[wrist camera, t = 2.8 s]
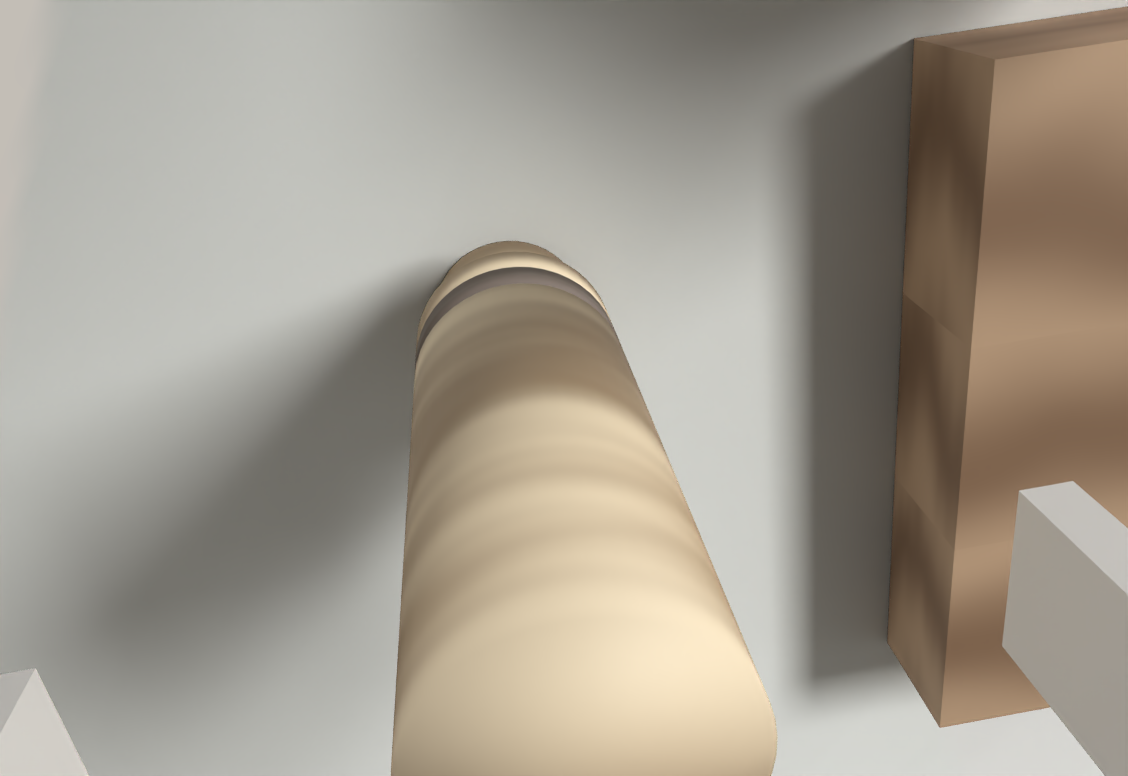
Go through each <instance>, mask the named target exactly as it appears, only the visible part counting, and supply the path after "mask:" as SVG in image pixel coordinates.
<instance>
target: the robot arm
mask: <svg viewBox="0 0 1128 776" xmlns="http://www.w3.org/2000/svg"><path fill="white" fill-rule="evenodd" d="M1002 647H1003V648H1004V649H1005V650H1006V652H1007V653H1008V654H1009V655H1010V657H1011V658H1012V659H1013V660H1014V662H1015V663H1016V664H1017V665H1018V667H1019V668H1020V669H1021V670H1022V672H1023V673H1024V674H1025V675H1026V677H1027V678H1028V679H1029V681H1030V682H1031V683H1032V684H1033V686H1034V687H1035V688H1036V689H1037V691H1038V692H1039V693H1040V694H1041V696H1042V697H1043V698H1044V699H1045V701H1046V702H1047V703H1048V704H1049V706H1050V707H1051V708H1052V709H1053V711H1054V712H1055V713H1056V715H1057V716H1058V717H1059V718H1060V720H1061V721H1062V722H1063V723H1064V725H1065V726H1066V727H1067V728H1068V730H1069V731H1070V732H1071V733H1072V735H1073V736H1074V737H1075V738H1076V740H1077V741H1078V742H1079V744H1080V745H1081V746H1082V747H1083V749H1084V750H1085V751H1086V752H1087V754H1088V755H1089V756H1090V757H1091V759H1092V760H1093V761H1094V762H1095V764H1096V765H1097V766H1098V767H1099V769H1100V770H1101V771H1102V772H1103V774H1104V775H1105V776H1128V528H1127V527H1126V526H1125V525H1123V524H1122V523H1121V522H1120V521H1119V520H1118V519H1116V518H1115V517H1114V516H1113V515H1112V514H1111V513H1109V512H1108V511H1107V510H1106V509H1105V508H1104V507H1103V506H1101V505H1100V504H1099V503H1098V502H1097V501H1096V500H1094V499H1093V498H1092V497H1091V496H1090V495H1089V494H1087V493H1086V492H1085V491H1084V490H1083V489H1082V488H1080V487H1079V486H1078V485H1077V484H1076V483H1075V482H1074V481H1070V482H1064V483H1059V484H1053V485H1048V486H1042V487H1037V488H1031V489H1025V490H1020V491H1019V495H1018V504H1017V513H1016V522H1015V532H1014V541H1013V550H1012V559H1011V568H1010V577H1009V587H1008V596H1007V605H1006V614H1005V623H1004V632H1003V642H1002ZM0 776H89V774H88V772H87V770H86V768H85V766H84V764H83V762H82V760H81V758H80V756H79V754H78V752H77V750H76V748H75V746H74V744H73V742H72V740H71V738H70V736H69V734H68V732H67V730H66V728H65V726H64V724H63V722H62V720H61V718H60V716H59V714H58V712H57V710H56V708H55V706H54V704H53V702H52V700H51V698H50V696H49V694H48V692H47V690H46V688H45V686H44V684H43V682H42V680H41V678H40V676H39V674H38V672H37V670H36V668H32V669H27V670H21V671H16V672H10V673H4V674H0Z"/></svg>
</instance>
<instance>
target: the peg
mask: <svg viewBox="0 0 1128 776" xmlns="http://www.w3.org/2000/svg"><path fill="white" fill-rule="evenodd" d="M776 751H777V730H776V721H775V717H774V714H773V710H772V707H771V704H770V701H769V699H768V696H767V694H766V691H765V689H764V687H763V684H762V682H761V679H760V677H759V675H758V672H757V670H756V668H755V665H754V663H753V660H752V658H751V656H750V653H749V651H748V648H747V646H746V644H745V641H744V639H743V636H742V634H741V632H740V629H739V627H738V624H737V622H736V620H735V617H734V615H733V612H732V610H731V608H730V605H729V603H728V600H727V598H726V596H725V593H724V591H723V588H722V586H721V584H720V581H719V579H718V576H717V574H716V572H715V569H714V567H713V565H712V562H711V560H710V557H709V555H708V553H707V550H706V548H705V545H704V543H703V541H702V538H701V536H700V533H699V531H698V529H697V526H696V524H695V521H694V519H693V517H692V514H691V512H690V509H689V507H688V505H687V502H686V500H685V497H684V495H683V493H682V490H681V488H680V485H679V483H678V481H677V478H676V476H675V473H674V471H673V469H672V466H671V464H670V462H669V459H668V457H667V454H666V452H665V450H664V447H663V445H662V442H661V440H660V438H659V435H658V433H657V430H656V428H655V426H654V423H653V421H652V418H651V416H650V414H649V411H648V409H647V406H646V404H645V402H644V399H643V397H642V394H641V392H640V390H639V387H638V385H637V382H636V380H635V378H634V375H633V373H632V371H631V368H630V366H629V363H628V361H627V359H626V356H625V354H624V351H623V349H622V347H621V344H620V342H619V339H618V337H617V335H616V332H615V330H614V327H613V325H612V323H611V320H610V318H609V315H608V313H607V311H606V308H605V306H604V304H603V302H602V300H601V298H600V296H599V295H598V293H597V292H596V290H595V289H594V288H593V286H592V285H591V284H590V283H589V282H588V281H587V280H586V279H585V278H584V277H583V276H582V275H581V274H580V273H578V272H577V271H576V270H575V269H573V268H571V267H570V266H568V265H567V264H565V263H563V262H562V261H561V260H560V259H559V258H557V257H556V256H555V255H554V254H552V253H550V252H549V251H547V250H545V249H543V248H541V247H539V246H536V245H533V244H529V243H525V242H519V241H503V242H496V243H491V244H487V245H484V246H482V247H479V248H477V249H475V250H473V251H471V252H469V253H468V254H467V255H465V256H464V257H462V258H461V259H460V260H459V261H458V262H457V263H455V264H454V266H453V267H452V268H451V269H450V270H449V272H448V273H447V275H446V276H445V278H444V279H443V282H442V283H441V284H440V285H439V287H438V288H437V289H436V290H435V291H434V293H433V294H432V296H431V297H430V299H429V300H428V302H427V304H426V306H425V308H424V311H423V313H422V316H421V319H420V322H419V326H418V333H417V344H416V361H415V377H414V394H413V411H412V427H411V444H410V461H409V478H408V494H407V511H406V528H405V544H404V561H403V578H402V595H401V611H400V628H399V645H398V661H397V678H396V695H395V712H394V728H393V745H392V762H391V776H771V774H772V771H773V767H774V763H775V758H776Z"/></svg>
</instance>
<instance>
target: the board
mask: <svg viewBox="0 0 1128 776" xmlns="http://www.w3.org/2000/svg"><path fill="white" fill-rule="evenodd" d="M1070 481H1074V482H1075V483H1076V484H1077V485H1078V486H1079V487H1080V488H1082V489H1083V490H1084V491H1085V492H1086V493H1087V494H1089V495H1090V496H1091V497H1092V498H1093V499H1094V500H1096V501H1097V502H1098V503H1099V504H1100V505H1101V506H1103V507H1104V508H1105V509H1106V510H1107V511H1108V512H1109V513H1111V514H1112V515H1113V516H1114V517H1115V518H1116V519H1118V520H1119V521H1120V522H1121V523H1122V524H1123V525H1125V526H1126V527H1127V528H1128V7H1121V8H1115V9H1108V10H1101V11H1095V12H1088V13H1081V14H1075V15H1068V16H1061V17H1054V18H1048V19H1041V20H1034V21H1028V22H1021V23H1014V24H1008V25H1001V26H994V27H988V28H981V29H974V30H968V31H961V32H954V33H948V34H941V35H934V36H928V37H921V38H914V52H913V74H912V97H911V119H910V142H909V164H908V187H907V210H906V232H905V255H904V277H903V300H902V322H901V345H900V368H899V390H898V413H897V435H896V458H895V480H894V503H893V526H892V548H891V571H890V593H889V616H888V638H887V643H888V644H889V646H890V647H891V649H892V651H893V652H894V654H895V656H896V657H897V659H898V660H899V662H900V664H901V665H902V667H903V669H904V670H905V672H906V673H907V675H908V677H909V678H910V680H911V682H912V683H913V685H914V686H915V688H916V690H917V691H918V693H919V695H920V696H921V698H922V700H923V701H924V703H925V704H926V706H927V708H928V709H929V711H930V713H931V714H932V716H933V717H934V719H935V721H936V722H937V724H938V726H939V727H940V728H942V727H947V726H952V725H958V724H963V723H968V722H974V721H979V720H985V719H990V718H995V717H1001V716H1006V715H1011V714H1017V713H1022V712H1027V711H1033V710H1038V709H1044V708H1049V707H1050V706H1049V704H1048V703H1047V702H1046V701H1045V699H1044V698H1043V697H1042V696H1041V694H1040V693H1039V692H1038V691H1037V689H1036V688H1035V687H1034V686H1033V684H1032V683H1031V682H1030V681H1029V679H1028V678H1027V677H1026V675H1025V674H1024V673H1023V672H1022V670H1021V669H1020V668H1019V667H1018V665H1017V664H1016V663H1015V662H1014V660H1013V659H1012V658H1011V657H1010V655H1009V654H1008V653H1007V652H1006V650H1005V649H1004V648H1003V647H1002V642H1003V632H1004V623H1005V614H1006V605H1007V596H1008V587H1009V577H1010V568H1011V559H1012V550H1013V541H1014V532H1015V522H1016V513H1017V504H1018V495H1019V491H1020V490H1025V489H1031V488H1037V487H1042V486H1048V485H1053V484H1059V483H1064V482H1070Z"/></svg>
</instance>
